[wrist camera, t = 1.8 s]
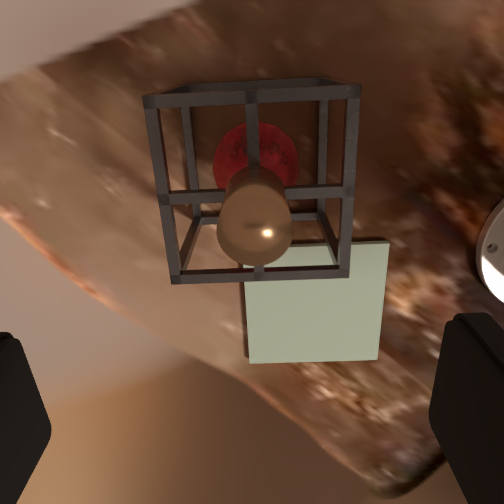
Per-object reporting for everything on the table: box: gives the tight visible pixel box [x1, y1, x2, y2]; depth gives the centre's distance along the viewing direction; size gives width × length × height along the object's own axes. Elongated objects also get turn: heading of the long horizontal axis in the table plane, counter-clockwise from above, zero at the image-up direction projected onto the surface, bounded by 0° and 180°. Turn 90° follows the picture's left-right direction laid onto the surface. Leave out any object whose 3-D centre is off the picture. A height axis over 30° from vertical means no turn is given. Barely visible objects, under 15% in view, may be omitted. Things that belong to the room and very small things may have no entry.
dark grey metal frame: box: [142, 77, 361, 284], centre depth 24 cm, size 10×10×15 cm
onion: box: [213, 121, 299, 189], centre depth 27 cm, size 6×6×8 cm
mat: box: [243, 241, 390, 364], centre depth 36 cm, size 12×12×1 cm
